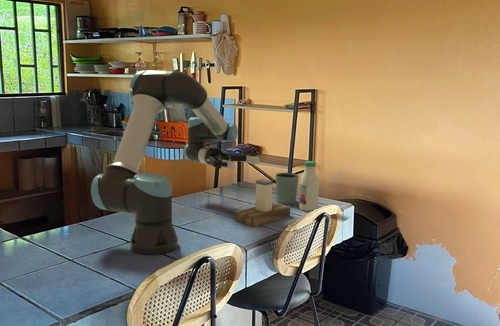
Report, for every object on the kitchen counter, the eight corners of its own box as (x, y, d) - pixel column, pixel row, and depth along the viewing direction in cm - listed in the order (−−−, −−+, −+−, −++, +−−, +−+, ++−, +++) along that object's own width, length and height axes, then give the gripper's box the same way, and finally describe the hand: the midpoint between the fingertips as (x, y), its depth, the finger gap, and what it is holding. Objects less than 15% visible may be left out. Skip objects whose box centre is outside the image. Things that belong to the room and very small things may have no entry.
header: (236, 220, 186) (236, 212, 186) (271, 210, 200) (271, 202, 200) (254, 226, 179) (255, 217, 179) (290, 215, 193) (290, 207, 193)
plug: (255, 218, 190) (255, 180, 187) (262, 215, 193) (263, 178, 190) (264, 220, 187) (265, 182, 184) (271, 218, 189) (272, 180, 187)
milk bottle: (317, 206, 207) (319, 160, 203) (318, 212, 199) (320, 163, 195) (299, 206, 207) (300, 159, 204) (299, 211, 200) (300, 163, 196)
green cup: (271, 199, 218) (272, 173, 215) (292, 198, 221) (293, 172, 218) (279, 205, 208) (280, 178, 206) (301, 203, 211) (302, 176, 209)
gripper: (232, 161, 217) (267, 168, 202) (188, 169, 200) (223, 177, 185) (232, 144, 216) (268, 150, 201) (187, 151, 198) (223, 158, 183)
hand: (246, 163), depth 193 cm, fingers open, 13 cm apart
